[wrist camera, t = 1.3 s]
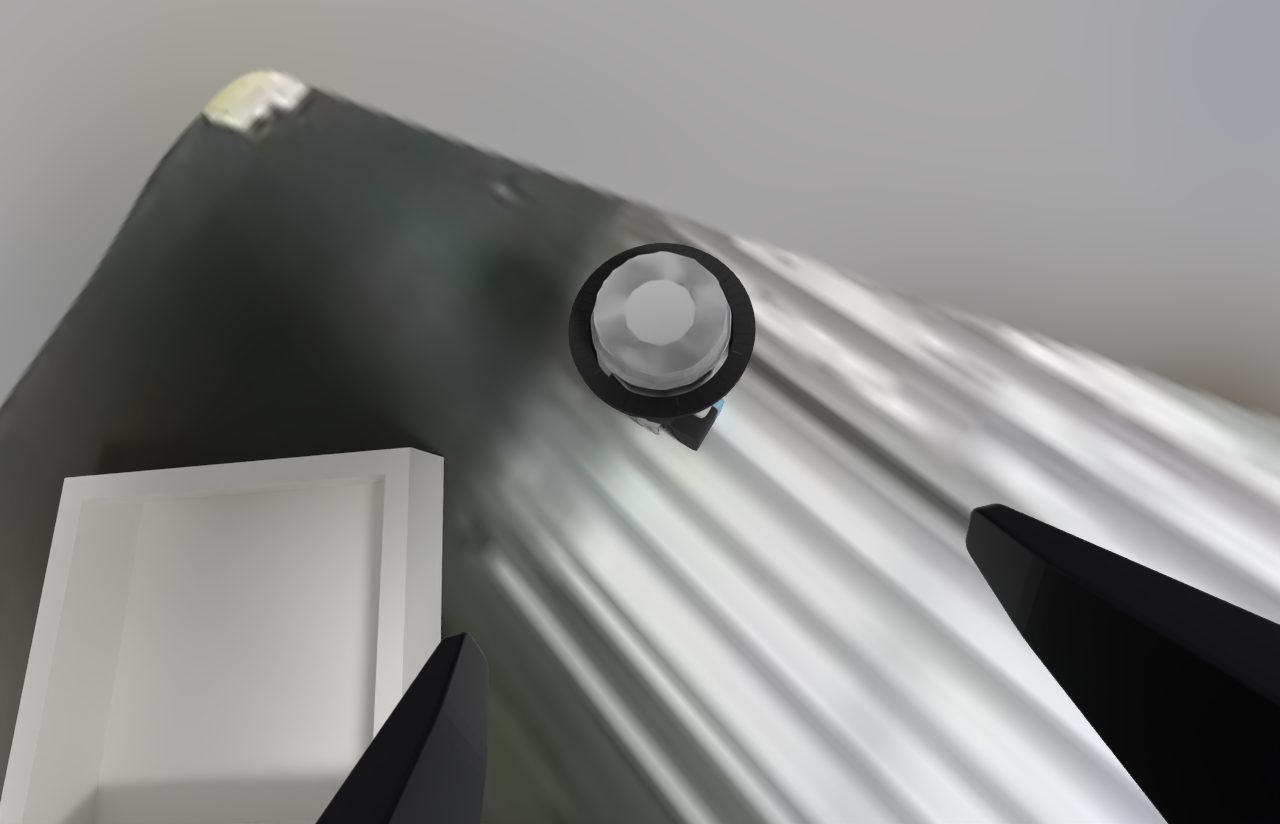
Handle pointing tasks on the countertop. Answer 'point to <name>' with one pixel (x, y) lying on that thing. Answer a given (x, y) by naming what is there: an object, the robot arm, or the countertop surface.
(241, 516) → the tray
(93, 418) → the countertop surface
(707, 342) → the push button
